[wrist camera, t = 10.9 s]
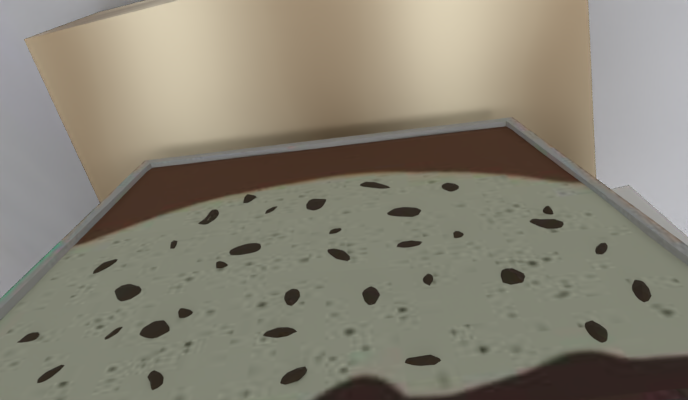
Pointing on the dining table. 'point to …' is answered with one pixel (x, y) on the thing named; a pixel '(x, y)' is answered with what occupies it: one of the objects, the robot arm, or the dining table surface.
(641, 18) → the dining table surface
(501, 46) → the birch platform
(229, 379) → the food container
